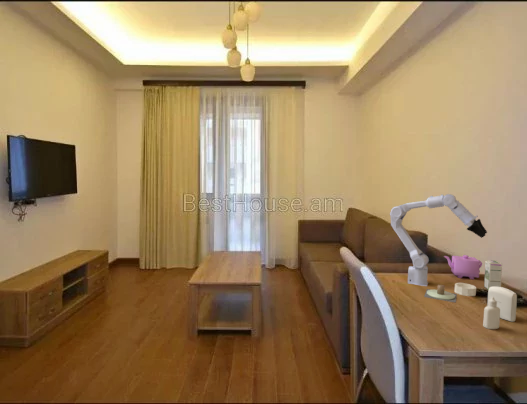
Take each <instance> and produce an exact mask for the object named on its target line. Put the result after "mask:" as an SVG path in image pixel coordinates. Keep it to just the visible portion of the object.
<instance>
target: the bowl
mask: <svg viewBox="0 0 527 404" xmlns="http://www.w3.org/2000/svg"><path fill="white" fill-rule="evenodd" d="M454 294H457V295H459V296H465V297H466V296H467V297H475V296H476V294H477V286H475V285H474V284H470V283H466V282H465V283H464V282H456V283H454Z"/></svg>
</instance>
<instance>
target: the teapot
mask: <svg viewBox="0 0 527 404" xmlns="http://www.w3.org/2000/svg"><path fill="white" fill-rule="evenodd" d="M443 257H444V258H445V259H446V260H447V263H448V266H449V267H450V268H451V270H450V271H451V272H452V274H453V275H454V276H457V278H458V279H462V278H463V277H468V278H469V279H470V280H475V278H480V272H481V271H480V268H482V266H483V262H482V261H481V260H480V259H477V258H476V257H475V256H474V257H473V256H469V255H466V254H463V255H461V256H459V255H452V256H451V258H450V257H449V256H447V255H444V256H443Z"/></svg>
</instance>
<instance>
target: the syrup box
mask: <svg viewBox="0 0 527 404" xmlns="http://www.w3.org/2000/svg"><path fill="white" fill-rule="evenodd" d="M484 264H485V265H484V285H483V287H484V288H485V289H487V291H488V290H489V288H490V287H493V286H497V287H502V277H503V276H502V274H503V271H502V270H503V263H502V262H499V261H498V260H492V259H490V260H485V263H484Z"/></svg>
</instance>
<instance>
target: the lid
mask: <svg viewBox="0 0 527 404" xmlns="http://www.w3.org/2000/svg"><path fill="white" fill-rule="evenodd" d="M445 289H446V288H445V285H444V284H437V289H430V290H428V291H427V295H429V296H431V297H433V298H436V299H435V300H438V299H442V300H441V301H444V300H452V299H454V298H455V295H454V294H455V293H454V294H452V293H453V292H450V291H446V290H445ZM433 298H432V299H433Z"/></svg>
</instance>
